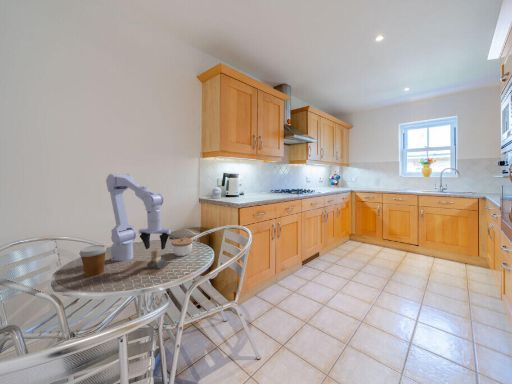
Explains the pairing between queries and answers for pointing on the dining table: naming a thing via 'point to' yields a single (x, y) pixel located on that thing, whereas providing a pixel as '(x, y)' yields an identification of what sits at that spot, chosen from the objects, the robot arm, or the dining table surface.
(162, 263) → the grey square socket
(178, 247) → the lidded jar
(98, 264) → the disposable coffee cup
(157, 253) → the tan wooden block
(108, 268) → the dining table surface
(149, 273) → the walnut board
